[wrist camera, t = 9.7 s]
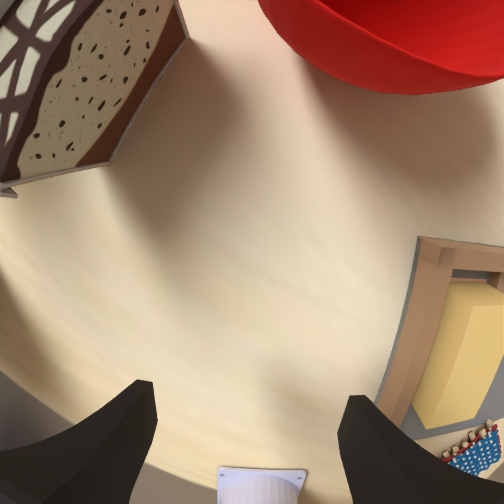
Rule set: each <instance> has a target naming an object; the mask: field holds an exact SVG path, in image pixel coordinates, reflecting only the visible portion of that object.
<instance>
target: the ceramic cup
mask: <svg viewBox="0 0 504 504" xmlns="http://www.w3.org/2000/svg"><path fill="white" fill-rule="evenodd" d="M258 2H259V5H260V7H261V9H262V11H263V13H264V14H265V16H266V17H267V19H268V20H269V21H270V23H271V24H272V26H273V27H274V29H275V30H276V31H277V33H278V34H279V36H280V37H281V38H282V39H283V40H284V41H285V42H286V43H287V44H288V45H289V46H290V47H291V48H292V49H293V50H294V51H295V52H296V53H297V54H299V55H300V56H301V57H303V58H304V59H305V60H307V61H308V62H309V63H311V64H312V65H313V66H315V67H316V68H318V69H320V70H322V71H324V72H325V73H327V74H329V75H331V76H332V77H334V78H336V79H339V80H342V81H344V82H347V83H349V84H352V85H354V86H357V87H361V88H365V89H369V90H373V91H377V92H381V93H391V94H405V95H421V94H430V93H439V92H447V91H455V90H461V89H466V88H471V87H476V86H480V85H484V84H488V83H491V82H494V81H497V80H500V79H503V78H504V0H258Z"/></svg>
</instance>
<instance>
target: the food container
mask: <svg viewBox="0 0 504 504" xmlns="http://www.w3.org/2000/svg"><path fill="white" fill-rule="evenodd" d="M189 37H190V36H189V33H188V30H187V26H186V23H185V20H184V17H183V14H182V11H181V8H180V5H179V1H178V0H0V197H9V198H17V197H18V194H17V193H16V192H15V191H14V190H13V189H12V188H11V187H12V186H16V185H20V184H24V183H28V182H32V181H36V180H40V179H44V178H49V177H53V176H57V175H62V174H67V173H71V172H76V171H81V170H86V169H91V168H97V167H102V166H108V165H110V164H111V163H112V161H113V159H114V157H115V155H116V153H117V151H118V149H119V147H120V145H121V143H122V141H123V140H124V138H125V136H126V134H127V132H128V131H129V129H130V127H131V125H132V124H133V122H134V120H135V118H136V117H137V115H138V113H139V112H140V110H141V108H142V107H143V105H144V103H145V102H146V100H147V98H148V97H149V95H150V94H151V92H152V90H153V89H154V87H155V86H156V84H157V83H158V81H159V80H160V78H161V77H162V75H163V74H164V72H165V71H166V69H167V68H168V66H169V65H170V63H171V62H172V60H173V59H174V58H175V56H176V55H177V53H178V52H179V51H180V49H181V48H182V46H183V45H184V44H185V42H186V41H187V40H188V38H189Z"/></svg>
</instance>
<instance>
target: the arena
mask: <svg viewBox="0 0 504 504" xmlns="http://www.w3.org/2000/svg"><path fill="white" fill-rule="evenodd" d="M450 280H453V281H483V282H485V283H487V284H488V285H490V286H492V287H494V288H495V289H497V290H499V291H500V292H502V293H504V247H499V246H492V245H485V244H477V243H470V242H462V241H454V240H446V239H438V238H430V237H421V236H418V238H417V244H416V250H415V256H414V261H413V266H412V272H411V276H410V281H409V286H408V291H407V295H406V299H405V304H404V308H403V312H402V316H401V320H400V324H399V327H398V331H397V335H396V338H395V342H394V345H393V349H392V352H391V355H390V359H389V362H388V365H387V368H386V371H385V374H384V377H383V380H382V383H381V386H380V389H379V392H378V395H377V398H376V400H375V403H374V405H375V406H376V407H377V408H378V409H379V410H380V411H381V412H382V413H383V414H384V415H385V416H386V417H387V418H388V419H389V420H390V421H392V422H393V423H394V424H395V425H396V426H397V427H398V428H399V429H400V430H401V431H402V432H404V433H405V434H406V435H407V436H408V437H409V438H411V439H412V440H417V439H423V438H428V437H433V436H438V435H443V434H447V433H451V432H455V431H460V430H463V429H467V428H471V427H475V426H478V425H482V424H485V423H486V422H487V420H488V419H490V420H492V421H495V420H498V419H501V418H503V417H504V355H503V357H502V360H501V362H500V365H499V367H498V369H497V372H496V374H495V376H494V379H493V381H492V383H491V385H490V387H489V390H488V392H487V394H486V396H485V398H484V400H483V402H482V404H481V406H480V408H479V410H478V412H477V414H476V416H475V417H474V418H473V419H469V420H465V421H461V422H457V423H453V424H449V425H445V426H440V427H436V428H431V429H425V427H424V425H423V423H422V422H421V420H420V418H419V416H418V415H417V413H416V411H415V409H414V408H413V406H412V404H411V400H412V398H413V396H414V393H415V391H416V388H417V386H418V383H419V381H420V378H421V376H422V373H423V370H424V368H425V365H426V362H427V359H428V356H429V353H430V351H431V348H432V345H433V341H434V338H435V335H436V332H437V329H438V325H439V322H440V319H441V315H442V312H443V308H444V304H445V300H446V297H447V293H448V288H449V284H450Z"/></svg>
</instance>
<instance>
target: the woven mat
mask: <svg viewBox="0 0 504 504" xmlns="http://www.w3.org/2000/svg"><path fill="white" fill-rule="evenodd" d="M486 425H487V429H485V428H483V429H481V430H480V431H479V433H478V435H477V437H476V436H475V433H474V432H471V433H470V434H469V437H470V439H471V442H470V443H468V442H467V441H464V442H463V443H462V447H463V448H462V449H460V450H459V448H458V446H454V447H453V455H451V456H450V454H449V452H448V451H446V452H444V453H443V456H444V458H445V459H441V460H442V461H444V462H446V463H448V464H450V465H452V466H454V467H456V468H458V469H460V470H462V471H464V472H467V473H469V474H472V475H475V476H478V474H479V473H480V474H481V473H482V472H481V471H483V470H487V469H488V468H489V466H492V465H493V463H496V462H498V460H499V459H500V457H501V455H499V454H501V449H500V448H501V445H500V444H499V443H500V441H499V440H500V439H499V435H497V433H498V430H496V429H497V427H498V426H497V424H495V425H494V426H493V424H492V420H490V419H488V420H487V422H486ZM487 432H488V433H487ZM479 438H480V439H479ZM478 439H479V440H478ZM481 443H482V444H481ZM461 453H462V454H461Z"/></svg>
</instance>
